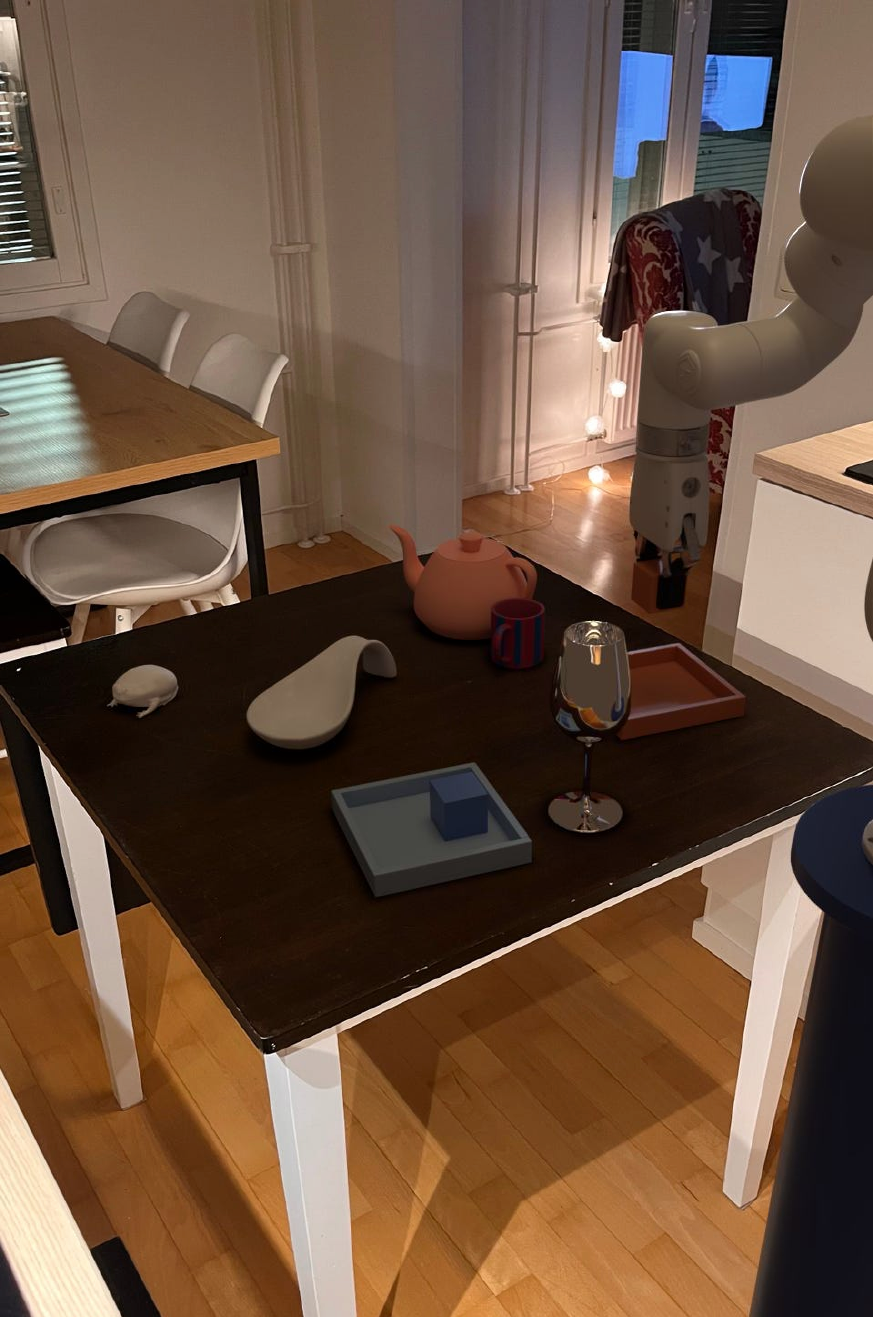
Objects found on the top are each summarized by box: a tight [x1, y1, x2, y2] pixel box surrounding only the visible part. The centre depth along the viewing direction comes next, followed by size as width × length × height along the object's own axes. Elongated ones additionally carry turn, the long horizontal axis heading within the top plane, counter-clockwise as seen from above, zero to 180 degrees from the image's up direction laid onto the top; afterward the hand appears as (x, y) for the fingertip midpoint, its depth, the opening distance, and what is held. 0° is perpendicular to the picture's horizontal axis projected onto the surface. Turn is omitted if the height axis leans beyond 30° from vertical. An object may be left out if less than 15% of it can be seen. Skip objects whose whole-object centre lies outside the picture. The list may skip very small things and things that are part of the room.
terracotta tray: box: [615, 642, 747, 741], centre depth 140 cm, size 16×16×2 cm
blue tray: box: [330, 762, 533, 898], centre depth 117 cm, size 16×16×2 cm
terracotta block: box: [630, 558, 689, 615], centre depth 134 cm, size 4×4×4 cm
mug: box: [490, 598, 546, 670], centre depth 148 cm, size 7×10×7 cm
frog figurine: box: [106, 664, 179, 719], centre depth 143 cm, size 8×7×4 cm
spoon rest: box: [246, 635, 398, 750], centre depth 137 cm, size 24×12×7 cm, turn 152°
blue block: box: [429, 772, 488, 841], centre depth 117 cm, size 4×4×4 cm
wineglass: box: [547, 620, 632, 834], centre depth 115 cm, size 8×8×20 cm
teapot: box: [389, 524, 538, 641], centre depth 158 cm, size 22×16×12 cm
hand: (658, 596), depth 134 cm, fingers closed on terracotta block, 4 cm apart
